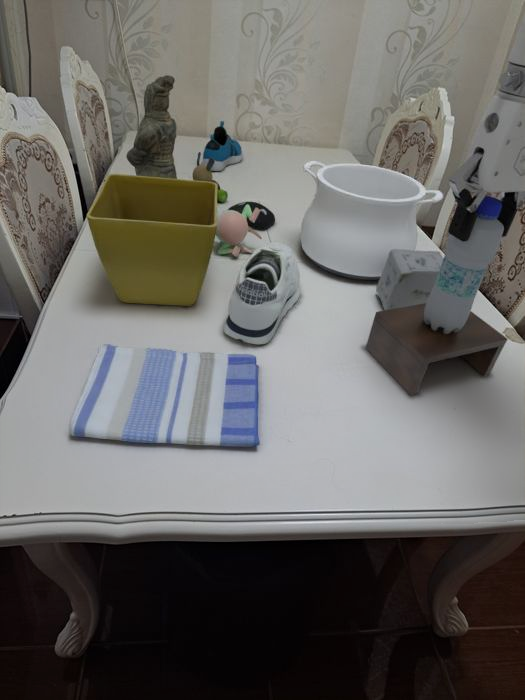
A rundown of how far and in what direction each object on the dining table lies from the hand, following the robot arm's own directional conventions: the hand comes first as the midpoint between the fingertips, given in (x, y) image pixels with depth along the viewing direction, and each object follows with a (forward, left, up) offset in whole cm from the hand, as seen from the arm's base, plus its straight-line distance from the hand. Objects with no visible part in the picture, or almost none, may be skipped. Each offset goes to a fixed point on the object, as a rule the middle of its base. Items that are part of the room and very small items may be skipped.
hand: (477, 233), depth 66 cm
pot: (+35, -8, -22) cm, 42 cm away
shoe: (+102, -3, -22) cm, 105 cm away
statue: (+61, +29, -22) cm, 71 cm away
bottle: (0, 0, -15) cm, 15 cm away
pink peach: (+45, +16, -22) cm, 53 cm away
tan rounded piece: (+73, +13, -22) cm, 77 cm away
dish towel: (+4, +41, -22) cm, 47 cm away
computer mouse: (+58, +7, -22) cm, 63 cm away
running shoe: (+23, +18, -22) cm, 37 cm away
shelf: (0, 0, -22) cm, 22 cm away
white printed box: (+15, -7, -22) cm, 28 cm away
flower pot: (+33, +35, -22) cm, 53 cm away
